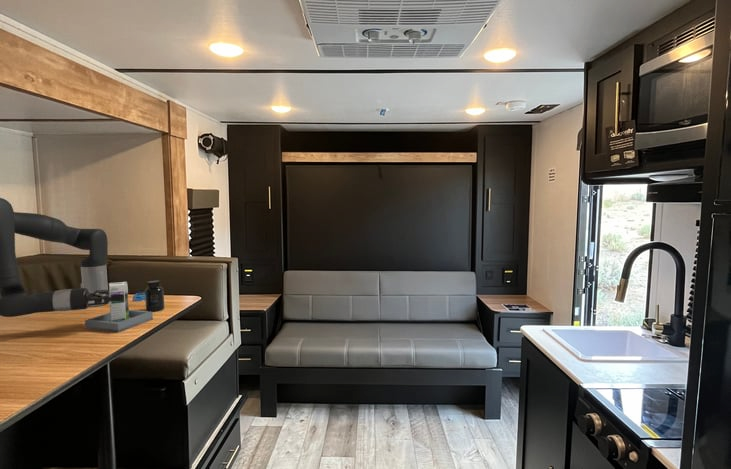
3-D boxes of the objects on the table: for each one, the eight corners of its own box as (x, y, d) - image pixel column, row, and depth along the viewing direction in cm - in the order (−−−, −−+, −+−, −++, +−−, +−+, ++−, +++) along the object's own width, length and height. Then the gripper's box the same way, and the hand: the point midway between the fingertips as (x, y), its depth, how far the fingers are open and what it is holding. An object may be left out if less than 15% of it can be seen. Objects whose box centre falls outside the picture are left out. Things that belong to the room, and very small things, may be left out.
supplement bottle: (168, 307, 168) (166, 279, 166) (158, 312, 161) (156, 283, 160) (152, 307, 168) (151, 279, 167) (142, 311, 162) (140, 283, 160)
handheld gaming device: (133, 299, 178) (135, 292, 191) (133, 302, 178) (135, 295, 191) (154, 297, 181) (154, 290, 195) (154, 300, 181) (154, 293, 195)
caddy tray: (85, 328, 141) (85, 320, 141) (122, 316, 156) (121, 308, 155) (118, 332, 137) (117, 323, 137) (152, 319, 151) (152, 311, 151)
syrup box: (111, 324, 142) (109, 285, 141) (110, 320, 147) (108, 282, 146) (129, 322, 146) (127, 283, 144) (128, 318, 150) (126, 280, 149)
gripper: (64, 293, 133) (121, 289, 139) (76, 285, 146) (127, 281, 152) (66, 315, 133) (123, 309, 140) (77, 305, 147) (129, 300, 153)
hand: (125, 294), depth 146 cm, fingers open, 7 cm apart
